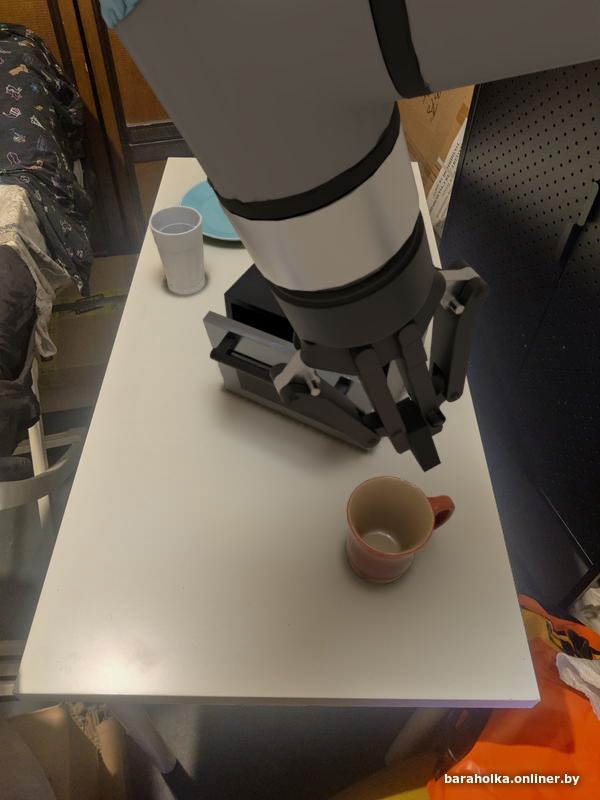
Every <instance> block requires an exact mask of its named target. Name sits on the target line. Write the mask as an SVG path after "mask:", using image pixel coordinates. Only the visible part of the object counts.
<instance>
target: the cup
mask: <svg viewBox="0 0 600 800" xmlns="http://www.w3.org/2000/svg"><path fill="white" fill-rule="evenodd" d="M148 224H149V228H150V231H151V234H152V237H153V241H154V243H155V245H156V248H157V251H158V255H159V258H160V261H161V265H162V268H163V271H164V274H165V277H166V282H167V287H168V289H169V290H170V291H171V292H173V293H174V294H178V295H192V294H194V293H195V294H196V293H197V292H199V291H201V290H202V289H203V288H204V287H205V285H206V276H205V274H206V273H205V259H204V258H205V256H204V240H203V239H204V237H203V236H204V235H203V234H202V216H201V214H200V213H199V212H198V211H197V210H195V209H193V208H191V207H187V206H179V205H170V206H166V207H163V208H160V209H158V210H156V211H155V212H154V213H152V214H151V216H150V217H149V220H148Z"/></svg>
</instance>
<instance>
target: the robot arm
mask: <svg viewBox="0 0 600 800" xmlns="http://www.w3.org/2000/svg"><path fill="white" fill-rule="evenodd" d="M98 1H99V3H100V13H101V14H100V15H101V17H102V19H103V20H104V23H105V24H106V26H107V27H108V29H111V30H113V31H114V33H115V34H116V36H117V37H118V39H119V40H120V42H121V44H122V45H123V47H124V49H125V50H126V51H127V53H128V55H129V56H130V58H131V60H132V61H133V63H134V64H135V66H136V67H137V68H138V70H139V72H140V73H141V75H142V76H143V78H144V80H146V83H147V84H148V86H149V88H150V89H151V90H152V92H153V94H154V95H155V96H156V98H157V100H158V101H159V103H160V104H161V106H162V107H163V109H164V110H165V112H166V114H167V116H168V117H169V118H170V120H171V121H172V123H173V125H174V126H175V128H176V129H177V130H178V131H177V132H178V133H179V134H180V136H181V137H182V139H183V140H184V141H185V143H186V144H187V146H188V148H189V149H190V151H191V153H192V154H193V156H194V158H195V159H196V161H197V163H198V164H199V166H200V167H201V170H202V171H203V172H204V174H205V175H206V180H207V182H208V184H209V185H210V187H212V189H213V191H214V192H215V194H216V196H217V198H218V201H219V204H220V206H221V208H222V210H223V211H224V213H225V215H226V216H227V218H228V220H229V221H230V223H231V225H232V226H233V228H234V230H235V231H236V233H237V235H238V236H239V238H240V240H241V243H242V245H243V246H244V248H245V249H246V251H247V253H248V254H249V256H250V258H251V259H252V261H253V263H255V265H256V266H257V268H258V269H259V270H260V272H261V273H262V274H263V276H264V277H265V280H266V282H267V284H268V286H269V288H270V290H271V291H272V293H273V295H274V296H275V298H276V300H277V301H278V303H279V305H280V306H281V308H282V310H283V311H284V313H285V315H286V316H287V318H288V320H289V321H290V323H291V325H292V327H293V328H294V335H293V345H294V347H295V349H296V350H297V352H296V353H295V355H294V356H293V357H292V359H291V360H290V362H289V363H278V364H276V365H274V366H273V367H272V368H271V369H270V376H271V378H272V380H273V382H274V385H275V387H276V389H277V391H278V393H279V395H280V397H281V400H282V402H283V404H284V405H285V407H287V408H292V409H298V410H304V411H310V412H312V413H314V414H315V415H317V416H318V417H320V418H321V419H323V420H325V421H326V422H328V423H329V424H331V425H332V426H334V427H335V428H337V429H338V430H340V431H341V432H343V433H344V434H346V435H347V436H349V437H350V438H352V439H353V440H355V441H356V442H358V443H359V444H361V445H362V446H364V447H365V448H369V449H372V448H374V447H375V446H377V445H378V444H379V443H380V442H381V439H382V438H388V440H389V442H390V443H391V445H392V447H393V448H394V451H395V452H396V453H397V454H400V455H402V454H404V453H407V451H410V452H411V454H412V455H413V457H414V459H415V460H416V461H417V463H418V465H419V467H420V468H421V470H422V472H423V473H426V472H428V471H430V470H432V469H434V468H436V467H437V466H439V465H441V464H442V461H441V458H440V456H439V453H438V450H437V447H436V444H435V442H434V439H433V437H434V436H435V435H438V434H440V433H442V432H443V428H444V424H445V423H446V421H447V417H446V416H445V415H444V413H443V411H442V410H441V406H442V404H444V403H445V402H448V403H453V402H456V401H458V400H460V399H461V397H462V396H463V394H464V390H465V383H466V378H467V373H468V366H469V361H470V355H471V349H472V344H473V337H474V333H475V332H474V331H475V325H476V320H477V317H478V315H479V313H480V311H481V309H482V308H483V306H484V303H485V302H486V300H487V298H488V296H489V294H490V292H491V287H490V285H488V284H487V282H485V280H484V279H483V277H481V276H480V275H479V274H478V273H477V272H476V270H475V269H474V268H472V267H471V265H469V264H468V262H467V261H465V259H462V258H459V259H456V260H454V261H452V262H451V263H450V264H449V266H448V267H447V268H446V270H445V269H444V270H443V271H437V270H436V269H435V267H436V266H435V264H434V261H433V257H432V252H431V247H430V243H429V239H428V234H427V230H426V223H425V220H424V216H423V213H422V210H421V209H420V195H419V190H418V186H417V182H416V177H415V174H414V170H413V165H412V161H411V156H410V153H409V148H408V143H407V140H406V137H405V132H404V128H403V124H402V119H401V112H400V108H399V103H398V101H401V100H411V99H415V98H421V97H425V96H431V95H434V94H437V93H440V92H445V91H450V90H455V89H461V88H465V87H471V86H475V85H480V84H484V83H485V84H486V83H489V82H494V81H499V80H504V79H508V78H514V77H518V76H519V77H520V76H523V75H529V74H534V73H538V72H543V71H547V70H552V69H553V70H554V69H558V68H562V67H563V68H564V67H568V66H573V65H576V64H582V63H587V62H592V61H596V60H600V0H98ZM431 321H432V325H431V326H432V328H431V339H430V353H429V359H428V355H427V352H426V349H425V344H424V345H423V342H422V337H423V335H424V334H425V332H426V330H427V328H428V329H429V327H430V324H429V323H431ZM428 326H429V327H428ZM392 360H395V362H396V365H397V367H398V370H399V373H400V375H401V378H402V380H403V383H404V388H405V390H406V394H407V395H408V396H406V397H405V398H403V399H401V400H399V401H398V402H396V401H394V399H393V397H392V394H391V392H390V389H389V387H388V385H387V383H388V381H387V379H386V376H385V374H384V372H383V369H382V367H384V366H385V365H386V364H387V363H389V362H390V361H392ZM428 361H429V363H428V364H429V365H427V362H428ZM315 369H319V370H324V371H329V372H335V373H340V374H345V375H350V376H357V377H358V379H359V381H360V383H361V385H362V387H363V389H364V391H365V393H366V395H367V397H368V399H369V401H370V403H371V404H370V405H371V407H372V408H373V410H374V412H371V413H368V414H366V413H365V411H364V410H363V409H361V408H360V407H359V406H358V405H356V404H355V403H354V402H352V401H351V400H350V399H349V398H347V397H346V396H345V395H343V394H342V393H341V392H339V391H338V390H337V389H336V388H334V387H333V386H332V385H330V384H329V383H328V382H327V381H325V380H324V379H323V378H321V377H320V376H319V375H318V373H317V372H316V370H315Z"/></svg>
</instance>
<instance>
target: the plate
mask: <svg viewBox="0 0 600 800" xmlns="http://www.w3.org/2000/svg"><path fill="white" fill-rule="evenodd" d="M178 206H187V207H191V208H193V209H195V210H197V211H198V212H199V213H200V214H201V216H202V235H203V236H206V237H209V238H213V239H216V240H223V241H235V242H239V241H241V240H240V238H239V236H238V235H237V233H236V231H235V230H234V228H233V226H232V225H231V223H230V221H229V220H228V218H227V216H226V215H225V213H224V211H223V210H222V208H221V206H220V204H219V201H218V198H217V196H216V194H215V192H214V191H213V189H212V187H210V185H209V184H208V182H207V179H204V180H202V181H199V182H198V183H196V184H194V185H193V186H191V187H190V188H188V190H186V191H185V192H184V194H183V195H182V196H181V198H180V200H179V203H178ZM241 242H242V241H241Z"/></svg>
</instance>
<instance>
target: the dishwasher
mask: <svg viewBox="0 0 600 800" xmlns="http://www.w3.org/2000/svg"><path fill="white" fill-rule="evenodd" d="M435 269H436V270H437V271H443V270H445V269H444V268H440V267H437V266H435ZM223 297H224V308H225V317H227V318H230V319H232V320H235V321H238V322H240V323H243V324H245V325H248V326H250V327H253V328H255V329H258V330H260V331H263V332H265V333H268V334H270V335H273V336H276V337H278V338H281V339H283V340H286V341H288V342H291V343H293V335H294V328H293V327H292V325H291V323H290V321H289V320H288V318H287V316H286V315H285V313H284V311H283V310H282V308H281V306H280V305H279V303H278V301H277V300H276V298H275V296H274V295H273V293H272V291H271V290H270V288H269V286H268V284H267V282H266V280H265V277H264V276H263V274H262V273H261V272H260V270H259V269H258V268H257V266H256V265H255V263H254V262H253V263H252V264H251V265H250V267H248V268H247V269H246V270H245V272H244V273H243V274H242V275H241V276H239V277H238V279H237V280H235V282H234V283H233V284H232V285H231V286H230V287H229V288H228V289H227V290H226V291H224V292H223ZM430 323H431V322H430ZM430 323H429V326H428V328H427V330H426V332H425V334H424V335H423V337H422V342H423V345H424V346H425V342H426V339H427V334H428V331H429V327H430ZM382 369H383V372H384V374H385V376H386V379H387V381H388V383H387V385H388V387H389V389H390V392H391V394H392V397H393V399H394V401H395V402H396V401H397V400H398V398H399V396H400V394H401V393H402V391H403V389H404V388H405V386H404V383H403V380H402V378H401V375H400V373H399V370H398V367H397V365H396V362H395V360H392V361H390V362H389V363H387V364H386V365H385V366H384V367H382Z"/></svg>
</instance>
